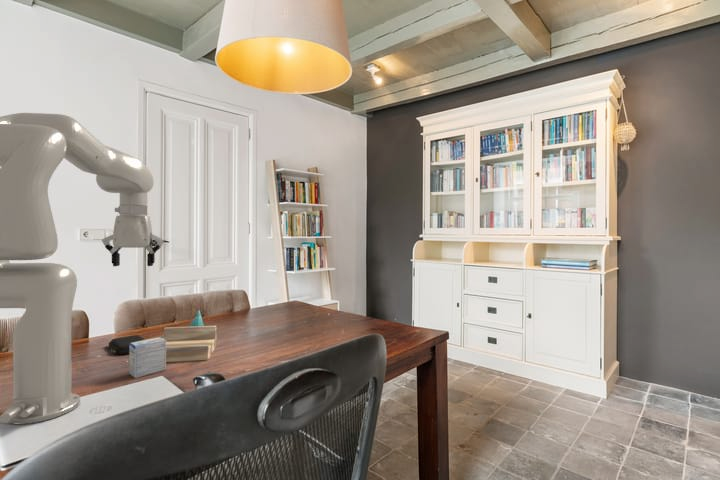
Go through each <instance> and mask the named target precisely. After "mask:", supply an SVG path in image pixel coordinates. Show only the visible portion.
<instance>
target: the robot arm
mask: <svg viewBox="0 0 720 480" xmlns="http://www.w3.org/2000/svg"><path fill="white" fill-rule="evenodd" d="M64 159H65V160H66V161H68V162H69V163H70V164H72V165H73V166H74V167H76V168H77V169H79V170H80V171H82V172H85V173H88V174H92V175H96V176H95V180H96V184H97V186H98V187H99V188H100V189H101V190H102V191H104V192H107V193H110V194H119V205H118V207H114V212H115V213H118V215H116V216H115V219H114V220H115V221H114V223H113V224H114V226H113V230H112V231H113V233H112V234H111V235H109V236H106V237H104V238H102V239H101V242H102V244H103V246H104V247H105V249H106V250H107V251H109V253H110V254H111V263H112V267H119V266H120V264H121V263H120V262H121V261H120V259H121V258H120V256H121V253H119V251H120V250H121V249H122V248H124V249H125V248H131V249H132V248H139V249H140V248H145V249H146V250H147V252H148V253H147V254H146V257H147V260H146V262H147V263H146V266H147V267H153V266H154V264H155V261H156V260H155V259H156V257H155V255H156V253H157V252H158V251H159V250H160V249H161V247H162V246H163V244H164V242H165V240H164V239H163V238H161V237H158V236H157V235H155V234H153V228H152V221H151V217H150V216H148V193H149V192H151V190H152V189H153V187H154V177H153V174H152V172H151V171H150V169H149V168H148V167H147V166H146V165H145V163H143V162H142V161H141V160H140V159H138V158H136V157H134V156H133V155H130V154H129V153H125V152H122V151H120V150H118V149H116V148H112V147H109V146H107V145H104V144H103V142H101V141H100V140H99V139H98V138H97V137H96V136H95V135H93V133H91V132H90V131H89V129H87V128H86V127H85V126H84V125H82V123H80V122H79V121H78V120H76V119H75V118H73V117H71V116H68V115H66V114H62V113H61V114H59V113H42V112H40V113H39V112H36V113H35V112H17V113H11V114H7V115H3V116H0V309H25V311H24V312H23V314H22V316H21V317H20V318H19V320H18V322H17V323H16V324H15V326H14V329H13V332H12V333H13V334H12V343H13V344H12V345H13V346H12V350H13V351H12V364H13V365H12V366H13V368H12V371H13V372H12V373H13V375H12V376H13V379H12V382H13V385H12V386H13V387H12V388H13V391H12V392H13V393H12V395H13V396H12V400H11V406H9V407H8V408H6V410H4V412H3V413H2V414H0V423H2V424H10V423H28V424H31V423H30V422H35V423H39V421H40V422H44V421H47V420H51V419H52V420H53V419H54V417H55V418H56V417H57V416H58V417H60V416H62V414H63V415H65V414H67V413H70V412H71V411H73V410H74V409H75V408H77V407H78V406H79V405H80V404H81V396H80V395H79V394H78V393H73V392H72V315H73V314H72V313H73V305H74V301H75V297H76V291H77V287H78V279H77V275H76V273H75V271H73V270H72V268H70V267H68V266H66V265H64V264H60V263H52V262H11V261H37V260H38V261H39V260H42V259H46V258H49V257H51V256H53V255H54V254H55V253H56V251H57V249H58V247H59V242H58V241H59V240H58V234H57V229H56V225H55V222H54V221H55V220H54V217H53V216H54V215H53V212H52V209H51V204H50V198H49V192H48V191H49V185H50V181H51V178H52V177H53V174H54V173H55V171H56V170H57V168H58V167H59V165H60V164H61V163H62V161H63V160H64ZM111 241H112V245H111V243H110V242H111ZM153 241H156V245H155V246H154V247H153ZM64 413H65V414H64ZM8 422H10V423H8Z"/></svg>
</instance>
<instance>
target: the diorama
mask: <svg viewBox="0 0 720 480" xmlns="http://www.w3.org/2000/svg"><path fill="white" fill-rule="evenodd" d="M191 326H205V325H204V322H203V317H202V315H201V310H197V311H196V316H195V317H194V318H193V319H192V320H191V322H190V324H189V326H188V327H191ZM162 337H163V338H162ZM162 337H161V338H162V339H164V335H163V336H162Z"/></svg>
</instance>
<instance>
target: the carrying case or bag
mask: <svg viewBox="0 0 720 480" xmlns="http://www.w3.org/2000/svg"><path fill="white" fill-rule="evenodd" d="M142 340H146V339H145V338H144V337H142V336H140V335H138V334H134V335H129V336H122V337H116V338H112V339H111V340H110V341H109V342H108V347H110V349H111V350H110V351H111V353H116V354H118V355H120V356H125V355H129V349H130V343H133V342H137V341H142Z"/></svg>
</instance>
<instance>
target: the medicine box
mask: <svg viewBox="0 0 720 480" xmlns="http://www.w3.org/2000/svg"><path fill="white" fill-rule="evenodd" d="M128 355H129V375H131V376H132V378H134V379H137V378H140V377H145V376H149V375H152V374H155V373H156V374H157V373H159V372H160V373H161V372H163V371H166V370H167V362H166V340H164V339H162V337H158V336H157V337H153V338H152V337H151V338H149V339H145V340H142V341H137V342H133V343H130V349H129V354H128Z"/></svg>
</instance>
